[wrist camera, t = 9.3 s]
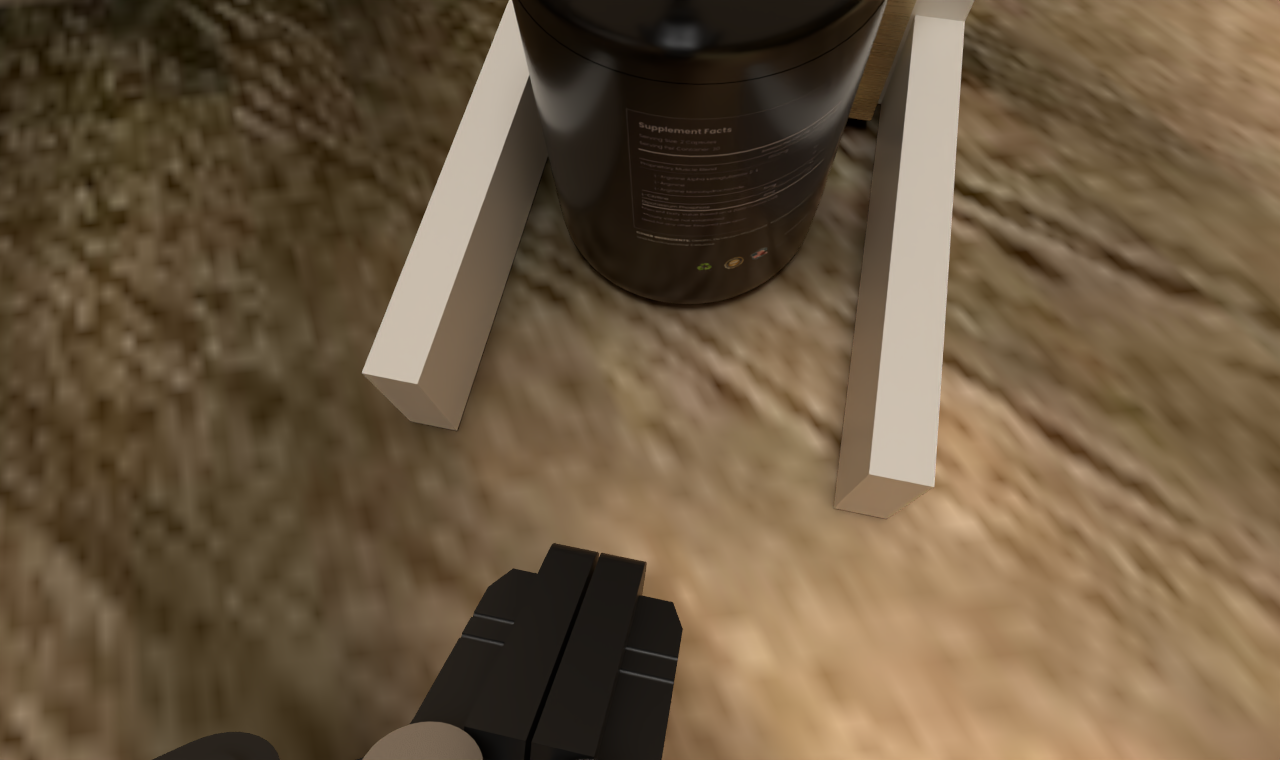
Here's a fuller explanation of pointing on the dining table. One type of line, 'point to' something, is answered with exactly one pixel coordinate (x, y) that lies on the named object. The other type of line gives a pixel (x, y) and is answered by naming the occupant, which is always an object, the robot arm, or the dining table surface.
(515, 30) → the holder
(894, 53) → the catch plate
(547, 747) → the robot arm
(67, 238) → the dining table surface
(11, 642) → the dining table surface
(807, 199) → the supplement bottle
